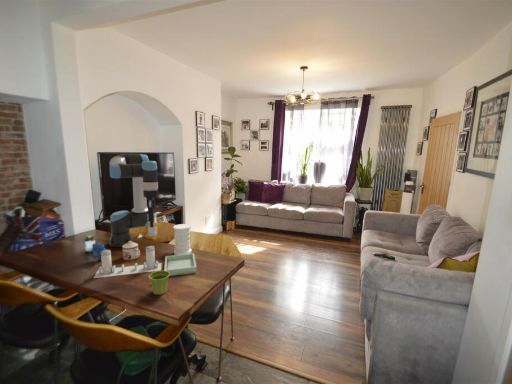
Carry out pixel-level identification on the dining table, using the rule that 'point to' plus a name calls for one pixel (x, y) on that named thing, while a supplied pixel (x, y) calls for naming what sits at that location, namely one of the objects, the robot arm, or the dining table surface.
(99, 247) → the grapes
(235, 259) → the dining table surface
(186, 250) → the decorative container
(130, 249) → the teacup with lid
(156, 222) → the cylinder
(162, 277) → the plant pot
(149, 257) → the block
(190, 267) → the tray
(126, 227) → the robot arm
